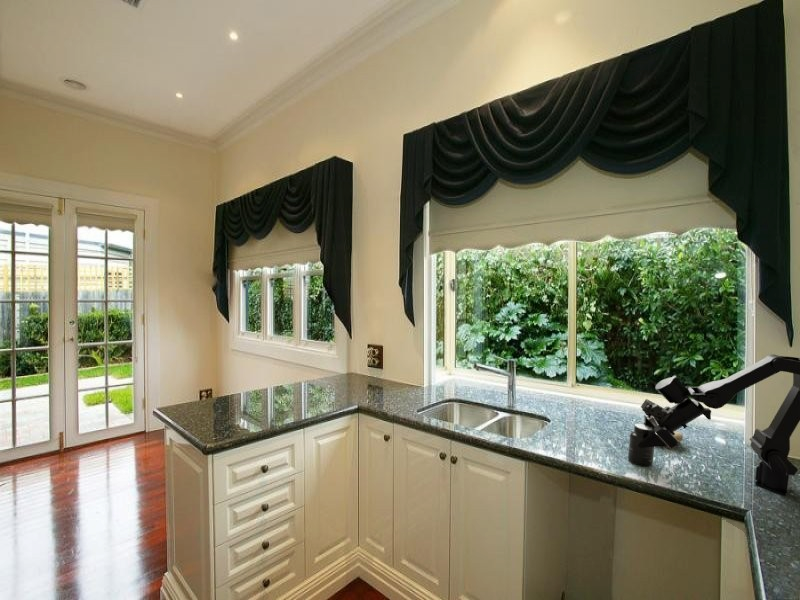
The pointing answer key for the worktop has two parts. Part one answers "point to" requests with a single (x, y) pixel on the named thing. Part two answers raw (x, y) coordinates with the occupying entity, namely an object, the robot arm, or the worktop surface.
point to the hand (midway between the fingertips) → (636, 441)
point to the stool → (677, 437)
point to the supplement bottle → (636, 453)
